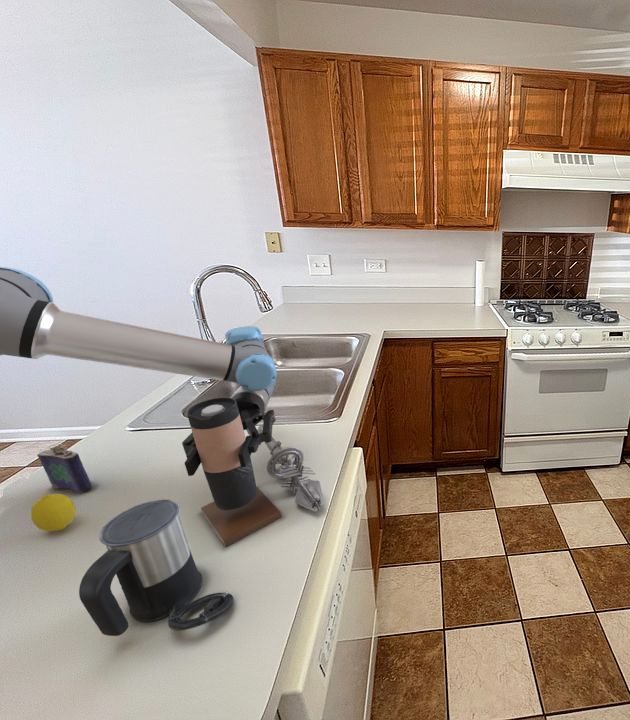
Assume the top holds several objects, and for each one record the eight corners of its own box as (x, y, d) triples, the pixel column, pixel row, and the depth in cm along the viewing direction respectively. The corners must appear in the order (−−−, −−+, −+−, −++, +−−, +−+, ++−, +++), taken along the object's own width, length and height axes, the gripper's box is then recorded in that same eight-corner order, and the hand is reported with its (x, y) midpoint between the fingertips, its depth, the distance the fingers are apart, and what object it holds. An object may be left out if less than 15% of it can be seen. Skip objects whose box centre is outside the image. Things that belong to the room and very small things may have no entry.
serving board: (202, 513, 79) (200, 507, 79) (255, 488, 86) (253, 483, 86) (225, 547, 71) (223, 541, 71) (281, 517, 78) (280, 511, 78)
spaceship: (278, 412, 102) (245, 412, 96) (343, 487, 80) (305, 492, 74) (270, 440, 103) (237, 441, 97) (332, 521, 81) (294, 529, 75)
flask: (49, 489, 86) (30, 447, 83) (65, 481, 89) (47, 439, 85) (84, 494, 85) (65, 451, 81) (98, 485, 87) (81, 444, 84)
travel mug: (245, 480, 82) (222, 393, 75) (267, 492, 79) (245, 403, 71) (206, 502, 76) (177, 410, 69) (227, 517, 72) (199, 421, 65)
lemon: (51, 523, 77) (35, 489, 74) (87, 515, 79) (73, 482, 76) (33, 544, 72) (15, 509, 69) (72, 535, 74) (56, 501, 71)
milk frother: (151, 574, 66) (122, 503, 61) (254, 557, 69) (235, 488, 64) (94, 664, 53) (52, 583, 48) (224, 637, 56) (198, 558, 51)
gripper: (298, 414, 94) (283, 472, 73) (199, 428, 88) (153, 493, 68) (292, 386, 91) (275, 437, 71) (190, 397, 85) (140, 456, 65)
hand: (215, 464), depth 69 cm, fingers closed on travel mug, 7 cm apart
